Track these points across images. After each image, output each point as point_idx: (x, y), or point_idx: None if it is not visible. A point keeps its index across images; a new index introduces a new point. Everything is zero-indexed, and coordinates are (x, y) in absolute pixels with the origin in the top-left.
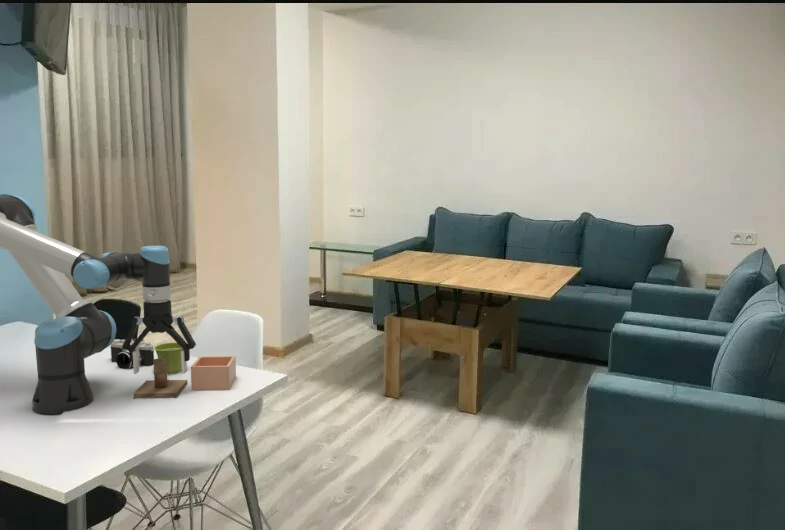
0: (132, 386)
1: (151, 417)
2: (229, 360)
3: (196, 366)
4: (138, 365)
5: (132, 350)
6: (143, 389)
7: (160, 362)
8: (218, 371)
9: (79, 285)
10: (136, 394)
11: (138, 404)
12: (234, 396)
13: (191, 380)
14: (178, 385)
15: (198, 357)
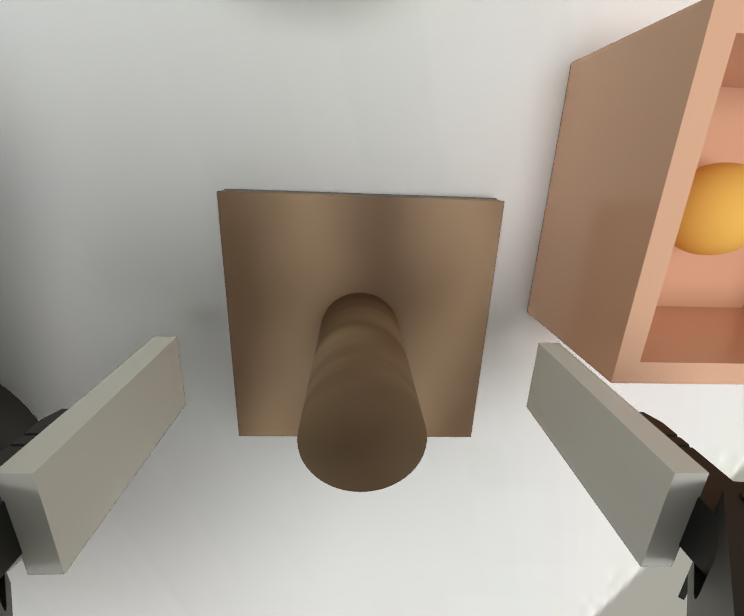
0: (143, 213)
1: (400, 606)
2: None
3: (659, 374)
4: (152, 377)
5: (8, 590)
6: (269, 374)
7: (381, 481)
8: None
9: None
10: (256, 432)
11: (301, 490)
12: (738, 414)
13: (556, 335)
14: (462, 317)
15: (703, 42)
